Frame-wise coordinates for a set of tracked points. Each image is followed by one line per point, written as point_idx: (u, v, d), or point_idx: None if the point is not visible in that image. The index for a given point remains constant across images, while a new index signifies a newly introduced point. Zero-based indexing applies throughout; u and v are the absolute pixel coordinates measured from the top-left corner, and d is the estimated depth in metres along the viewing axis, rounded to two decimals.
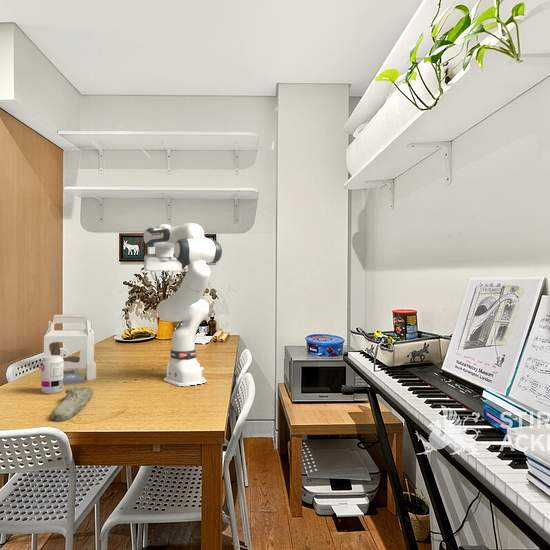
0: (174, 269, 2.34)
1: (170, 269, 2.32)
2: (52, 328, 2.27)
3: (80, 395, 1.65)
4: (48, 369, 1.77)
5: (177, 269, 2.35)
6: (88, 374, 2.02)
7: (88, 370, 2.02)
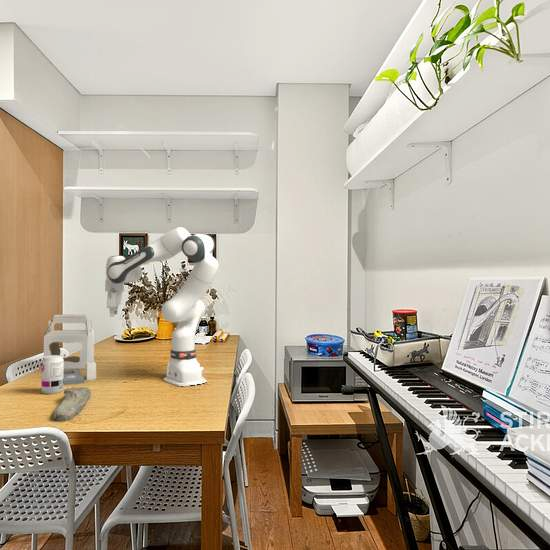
0: (119, 303, 2.19)
1: (118, 304, 2.16)
2: (52, 328, 2.27)
3: (79, 395, 1.65)
4: (48, 369, 1.77)
5: (120, 302, 2.20)
6: (88, 374, 2.02)
7: (88, 370, 2.02)
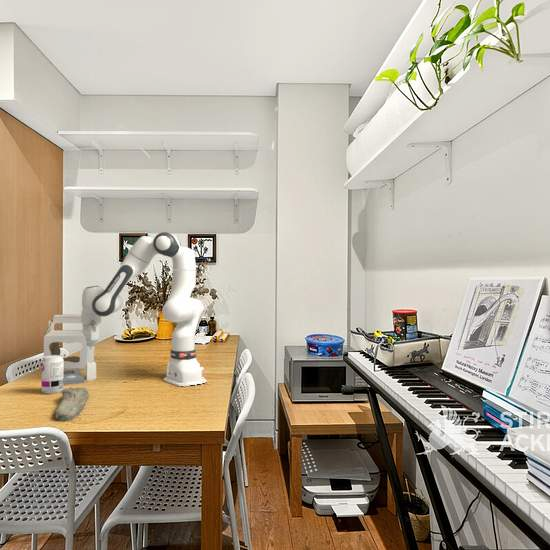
0: None
1: None
2: (52, 328, 2.27)
3: (78, 395, 1.65)
4: (48, 369, 1.77)
5: None
6: (88, 374, 2.02)
7: (88, 370, 2.02)
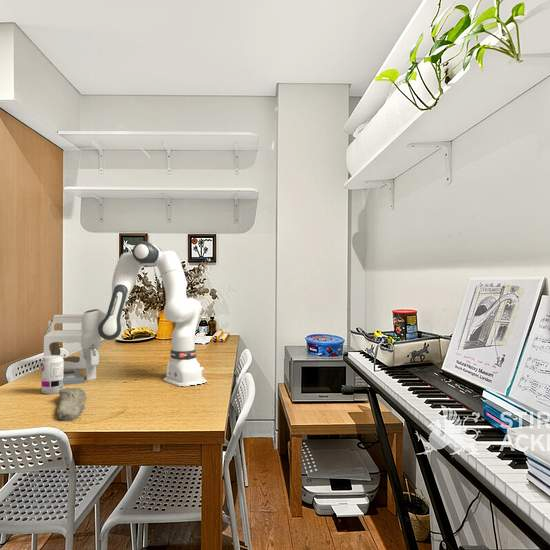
0: None
1: None
2: (52, 328, 2.27)
3: (77, 395, 1.65)
4: (48, 369, 1.77)
5: None
6: (88, 374, 2.02)
7: (88, 370, 2.02)
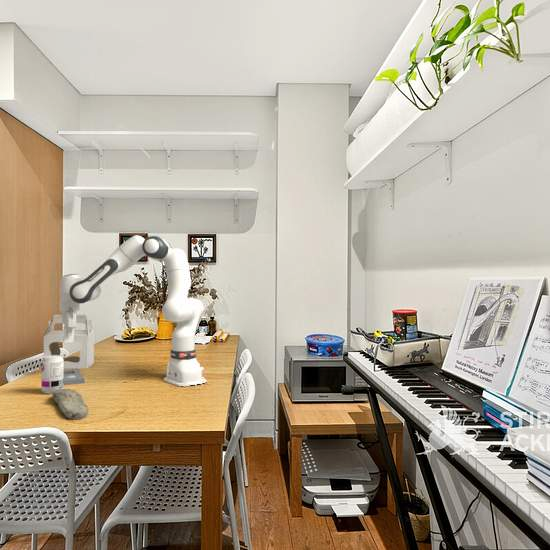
0: None
1: None
2: (52, 328, 2.27)
3: (74, 395, 1.65)
4: (48, 369, 1.77)
5: None
6: (65, 337, 2.04)
7: (66, 333, 2.04)
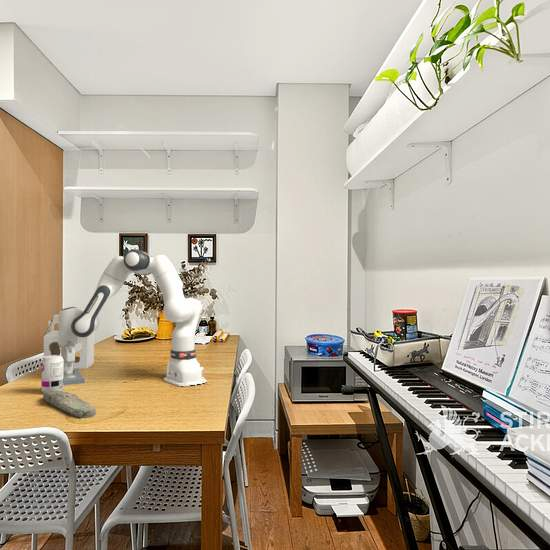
0: None
1: None
2: (52, 328, 2.27)
3: (70, 395, 1.65)
4: (48, 369, 1.77)
5: None
6: (65, 372, 2.04)
7: (65, 368, 2.04)
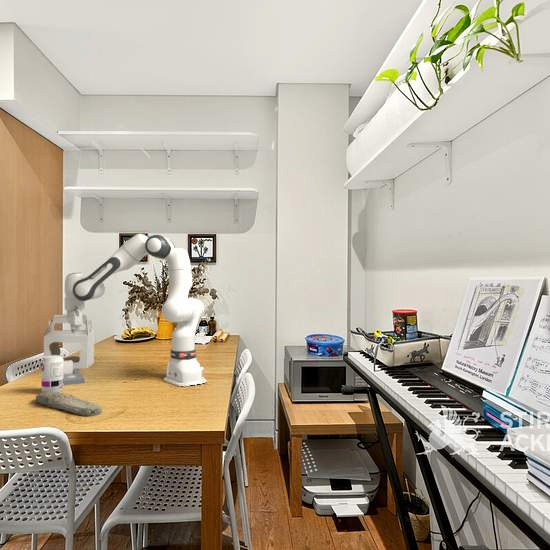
0: None
1: None
2: (52, 328, 2.27)
3: (68, 396, 1.64)
4: (48, 369, 1.77)
5: None
6: (65, 372, 2.04)
7: (64, 368, 2.04)
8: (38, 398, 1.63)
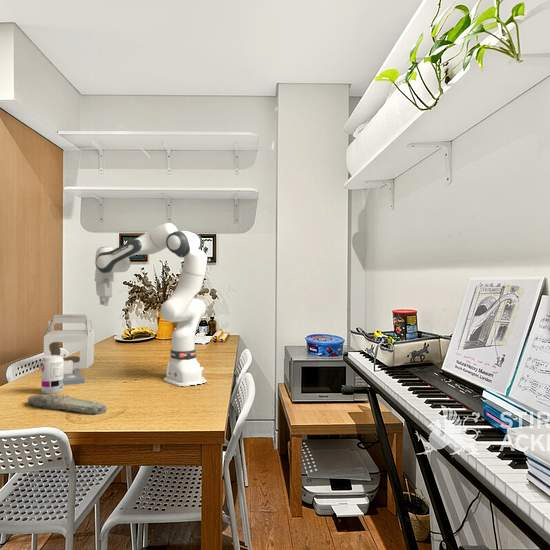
0: None
1: None
2: (52, 328, 2.27)
3: (65, 396, 1.63)
4: (48, 369, 1.77)
5: None
6: (65, 372, 2.04)
7: (64, 368, 2.04)
8: (33, 400, 1.61)
